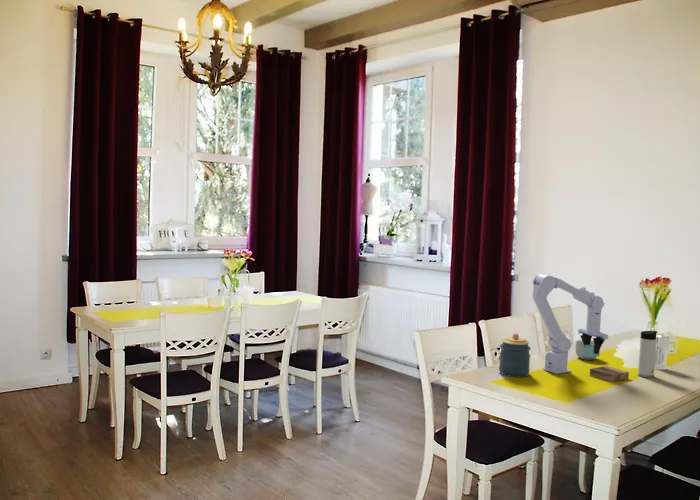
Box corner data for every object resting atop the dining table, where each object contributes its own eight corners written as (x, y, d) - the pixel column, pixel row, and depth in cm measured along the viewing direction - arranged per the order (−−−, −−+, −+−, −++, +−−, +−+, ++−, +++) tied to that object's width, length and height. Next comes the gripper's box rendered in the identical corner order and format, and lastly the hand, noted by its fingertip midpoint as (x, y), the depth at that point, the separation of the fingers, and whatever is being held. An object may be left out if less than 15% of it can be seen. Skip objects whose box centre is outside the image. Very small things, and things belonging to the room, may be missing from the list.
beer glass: (664, 366, 295) (666, 335, 294) (670, 370, 289) (672, 338, 287) (648, 366, 296) (650, 334, 295) (654, 370, 289) (656, 337, 288)
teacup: (601, 361, 303) (602, 345, 302) (578, 360, 303) (579, 344, 302) (591, 354, 317) (592, 338, 316) (569, 354, 317) (570, 338, 316)
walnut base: (611, 381, 267) (611, 374, 267) (589, 375, 277) (590, 368, 277) (628, 378, 273) (628, 372, 273) (606, 372, 282) (606, 365, 282)
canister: (492, 372, 277) (494, 332, 275) (508, 368, 286) (510, 329, 284) (519, 379, 267) (521, 337, 266) (535, 374, 277) (537, 334, 275)
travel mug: (656, 378, 274) (659, 332, 273) (639, 377, 276) (642, 331, 274) (652, 374, 281) (655, 330, 279) (636, 373, 282) (639, 329, 280)
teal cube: (592, 357, 282) (593, 347, 281) (584, 354, 286) (584, 345, 285) (599, 356, 284) (599, 346, 284) (590, 353, 288) (591, 344, 288)
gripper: (613, 324, 279) (611, 354, 280) (586, 318, 292) (584, 347, 293) (602, 325, 276) (600, 356, 277) (575, 319, 288) (574, 349, 289)
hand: (591, 352), depth 285 cm, fingers closed on teal cube, 4 cm apart
